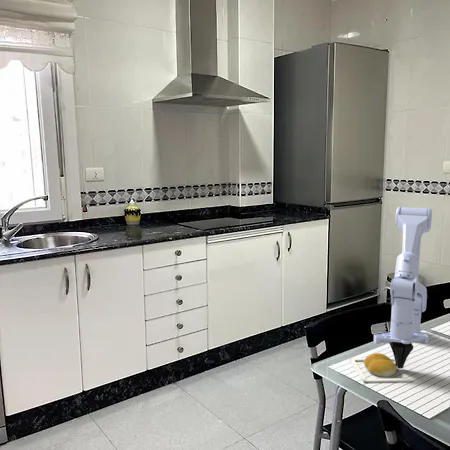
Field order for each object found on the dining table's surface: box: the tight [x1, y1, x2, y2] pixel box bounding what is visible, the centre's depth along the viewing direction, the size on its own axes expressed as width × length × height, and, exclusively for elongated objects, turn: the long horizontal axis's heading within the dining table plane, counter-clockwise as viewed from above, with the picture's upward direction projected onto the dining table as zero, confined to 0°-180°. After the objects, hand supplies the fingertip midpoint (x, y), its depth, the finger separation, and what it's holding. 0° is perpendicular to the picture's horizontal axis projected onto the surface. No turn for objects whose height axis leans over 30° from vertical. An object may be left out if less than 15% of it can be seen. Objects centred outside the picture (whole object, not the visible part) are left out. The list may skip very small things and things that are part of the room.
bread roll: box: [363, 352, 398, 378], centre depth 127 cm, size 8×9×4 cm
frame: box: [349, 357, 412, 384], centre depth 126 cm, size 13×12×1 cm
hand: (399, 366), depth 126 cm, fingers closed
